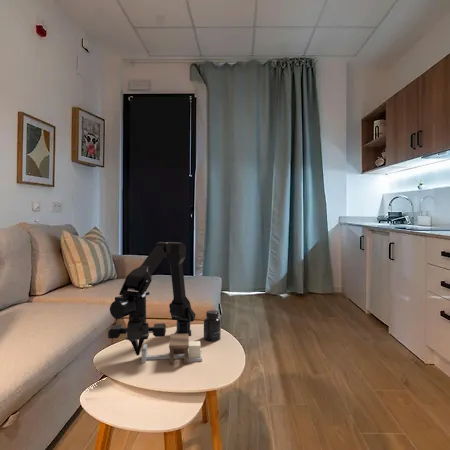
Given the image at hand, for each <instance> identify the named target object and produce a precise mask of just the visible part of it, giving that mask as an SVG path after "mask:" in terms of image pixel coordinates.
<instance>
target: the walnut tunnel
mask: <svg viewBox="0 0 450 450" xmlns="http://www.w3.org/2000/svg"><path fill="white" fill-rule="evenodd" d="M169 337H170V339H169V342H168V343H169V344H168V349H169V355H170V359H169V365H170V366H174V364H175V361H174V354H184V358H183V360H184V361H183V362H184V363H183V364H184V365H189V362H188V351H189V342H190V340H189V339H190V338H189V337H190V336H189V333H186V334H176V333H171V334H170V336H169Z"/></svg>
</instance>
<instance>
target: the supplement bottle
mask: <svg viewBox="0 0 450 450" xmlns="http://www.w3.org/2000/svg"><path fill="white" fill-rule="evenodd" d="M219 316H220V315H219V310H212V309H211V310H207V311H206V315H205V318H204V320H203V340H204V341H206V342H211V343H212V342H218V341H220V340H221V332H222V330H221V329H222V327H221V326H222V321H221V319H220V318H219Z"/></svg>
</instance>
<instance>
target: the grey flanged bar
mask: <svg viewBox="0 0 450 450" xmlns="http://www.w3.org/2000/svg"><path fill="white" fill-rule="evenodd" d="M202 354H203V353H202V351H201V357H190V358H189V350H188V363H191V362H192V363H194V362H203V355H202ZM174 359H176V360H177V359H184V353H174ZM149 360H170V354H149V355H148V344H147V343H143V345H142V348H141V363H142V364H146V361H149Z"/></svg>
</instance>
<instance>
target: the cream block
mask: <svg viewBox="0 0 450 450" xmlns="http://www.w3.org/2000/svg"><path fill="white" fill-rule="evenodd" d="M188 351H189V358H190V357H201V352H202V350H201V341H200V340H197V341H193V340H192V341H189V348H188Z"/></svg>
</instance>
